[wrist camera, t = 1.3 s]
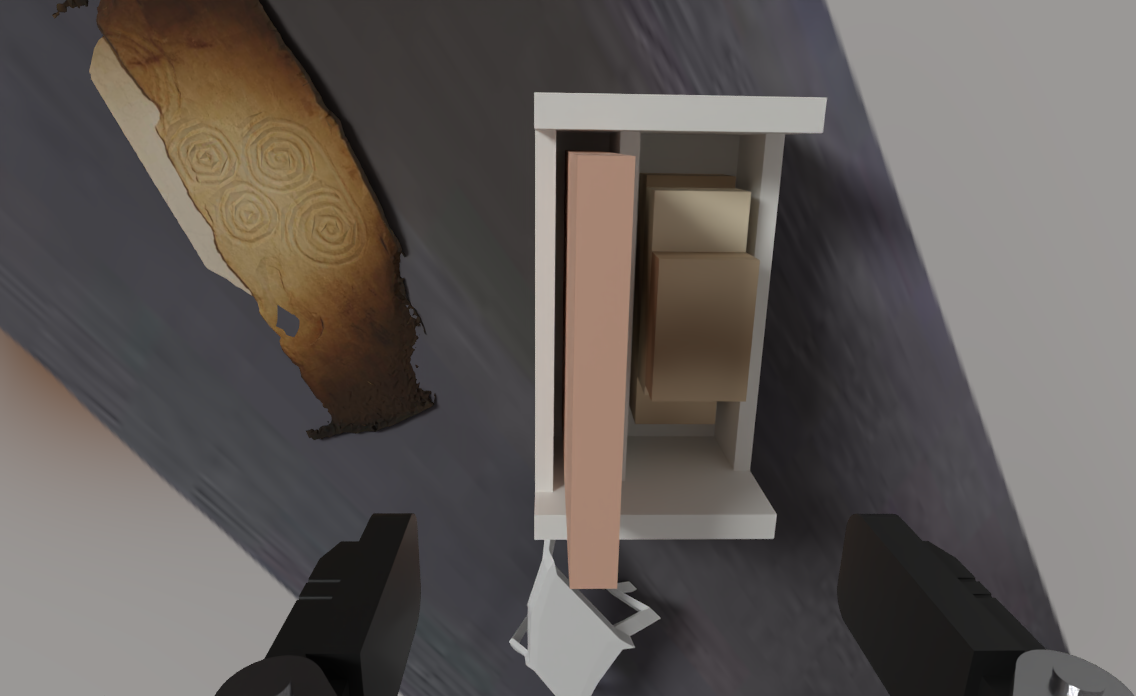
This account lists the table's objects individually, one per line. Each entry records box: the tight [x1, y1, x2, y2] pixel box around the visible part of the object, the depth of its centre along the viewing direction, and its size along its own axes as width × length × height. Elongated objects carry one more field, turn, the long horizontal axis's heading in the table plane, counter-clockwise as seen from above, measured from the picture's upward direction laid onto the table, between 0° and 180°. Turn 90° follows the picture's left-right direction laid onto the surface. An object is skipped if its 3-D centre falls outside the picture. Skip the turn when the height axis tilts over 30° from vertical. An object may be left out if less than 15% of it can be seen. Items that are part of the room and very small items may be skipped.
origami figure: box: [509, 540, 661, 696], centre depth 38 cm, size 12×8×5 cm
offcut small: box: [645, 251, 760, 402], centre depth 28 cm, size 6×4×2 cm, turn 179°
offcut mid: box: [637, 187, 751, 395], centre depth 30 cm, size 9×4×2 cm, turn 179°
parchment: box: [52, 0, 436, 440], centre depth 33 cm, size 25×10×1 cm, turn 23°
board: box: [562, 150, 636, 589], centre depth 27 cm, size 14×2×14 cm, turn 179°
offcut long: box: [629, 173, 736, 424], centre depth 33 cm, size 12×4×2 cm, turn 179°
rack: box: [534, 92, 827, 540], centre depth 31 cm, size 18×10×9 cm, turn 179°
